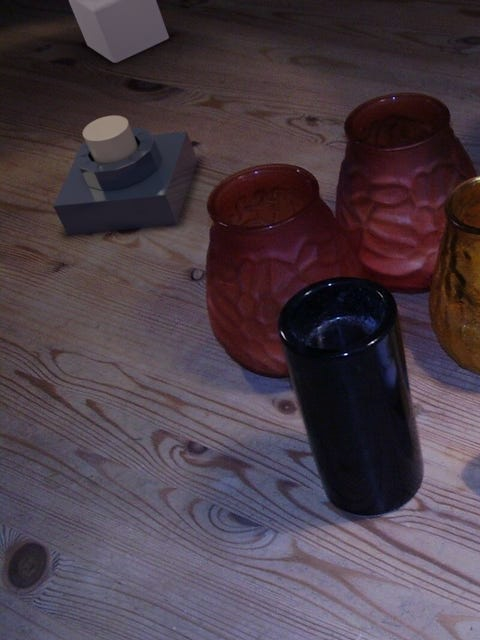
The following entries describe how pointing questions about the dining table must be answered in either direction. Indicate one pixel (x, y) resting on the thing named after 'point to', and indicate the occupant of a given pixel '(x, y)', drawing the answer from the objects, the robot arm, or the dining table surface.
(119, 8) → the medicine bottle
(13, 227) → the dining table surface
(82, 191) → the button housing
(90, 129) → the beige cylinder
